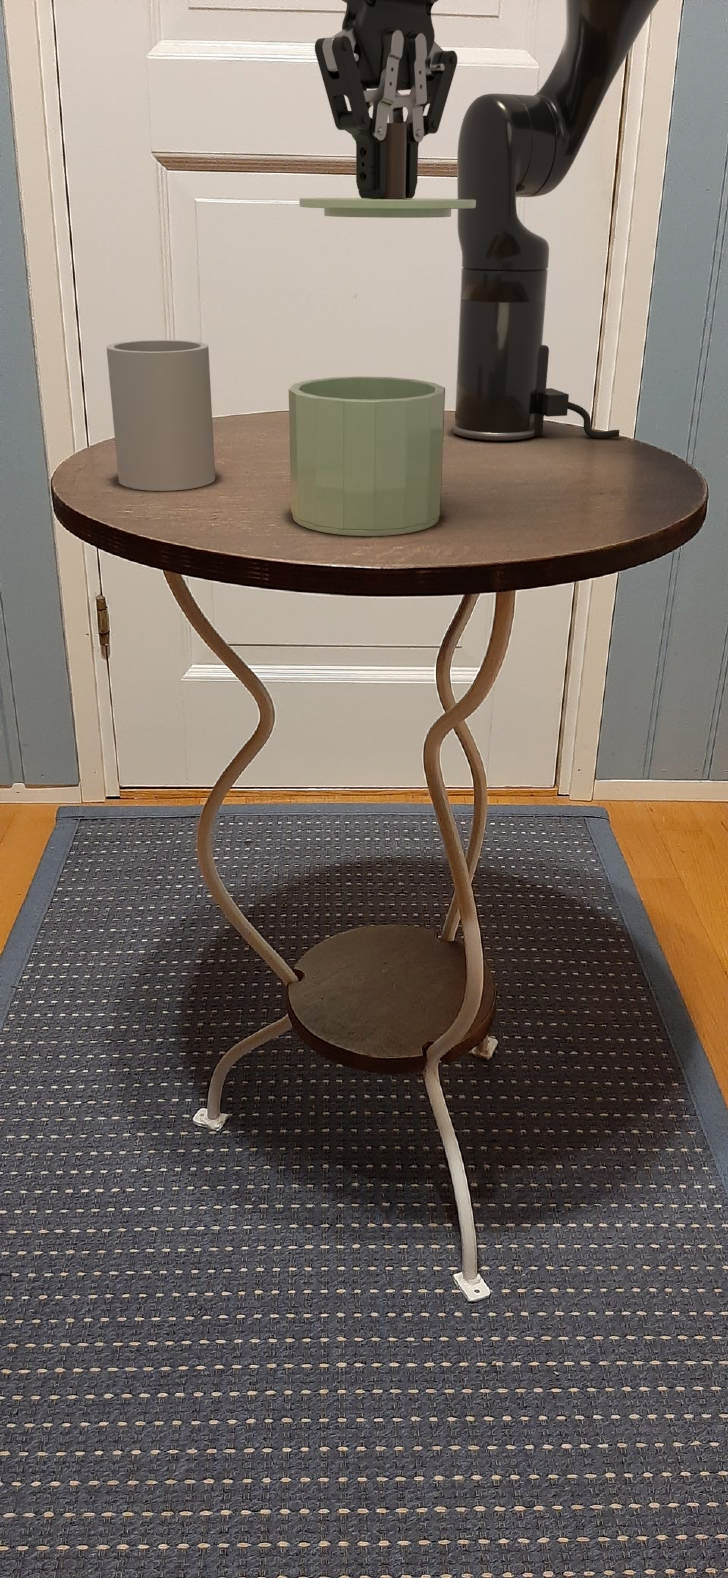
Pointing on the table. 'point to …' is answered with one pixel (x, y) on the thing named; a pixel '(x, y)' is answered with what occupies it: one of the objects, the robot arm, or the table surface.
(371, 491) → the jar
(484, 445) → the table surface
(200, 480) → the cup
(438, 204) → the jar lid
